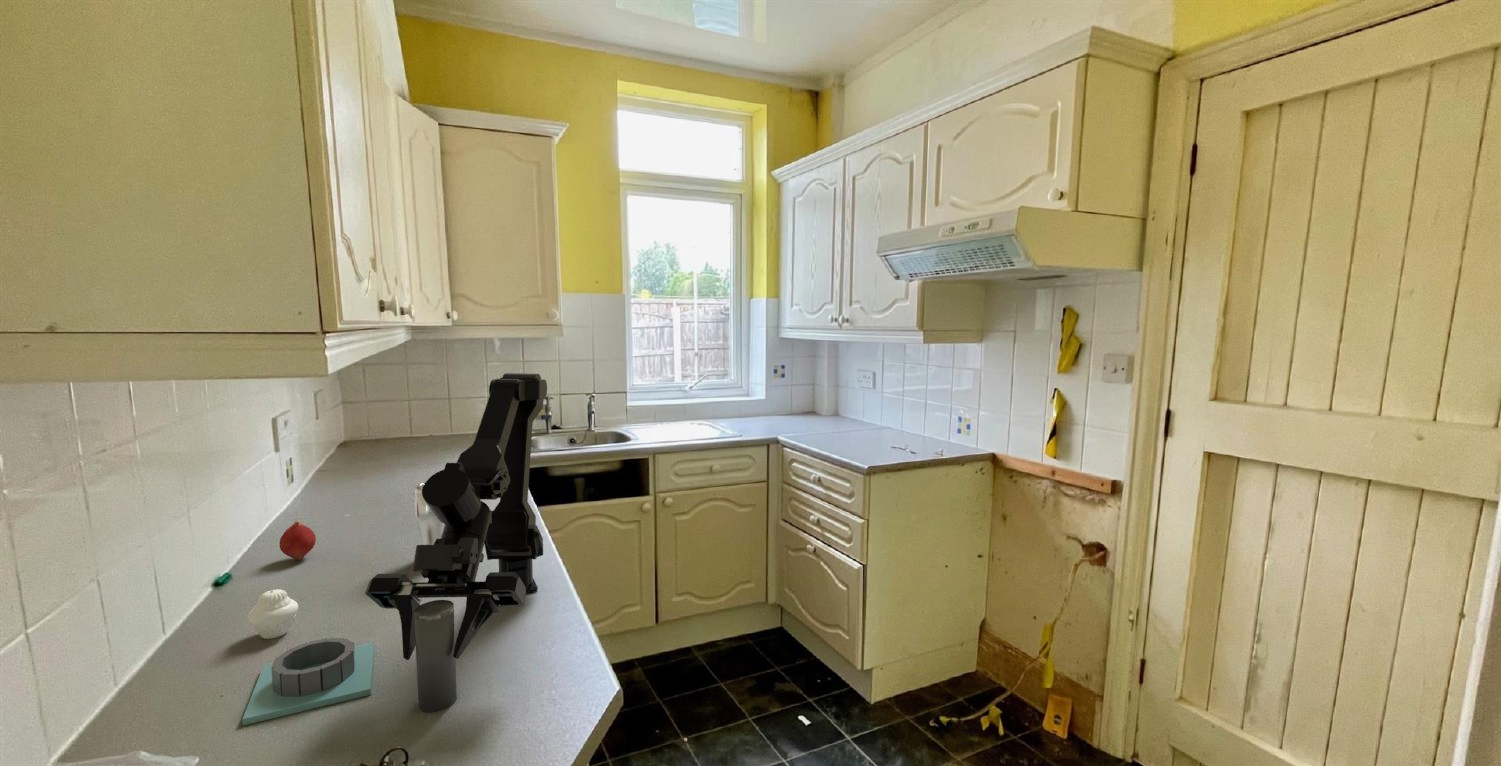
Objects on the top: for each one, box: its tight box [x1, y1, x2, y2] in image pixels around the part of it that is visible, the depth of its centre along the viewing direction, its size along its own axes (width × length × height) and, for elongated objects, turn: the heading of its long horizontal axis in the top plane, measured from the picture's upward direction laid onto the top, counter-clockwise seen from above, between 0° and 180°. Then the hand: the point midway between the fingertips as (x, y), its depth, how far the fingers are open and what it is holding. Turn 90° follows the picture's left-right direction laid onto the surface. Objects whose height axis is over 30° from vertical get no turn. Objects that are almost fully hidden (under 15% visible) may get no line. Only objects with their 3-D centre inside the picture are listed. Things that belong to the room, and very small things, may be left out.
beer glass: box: [414, 482, 445, 545], centre depth 124 cm, size 7×7×15 cm
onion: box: [279, 520, 317, 561], centre depth 122 cm, size 6×6×8 cm
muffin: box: [247, 588, 299, 640], centre depth 94 cm, size 6×6×7 cm
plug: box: [414, 599, 458, 713], centre depth 78 cm, size 4×4×12 cm
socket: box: [242, 637, 376, 726], centre depth 82 cm, size 13×13×4 cm
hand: (431, 658), depth 76 cm, fingers open, 6 cm apart
